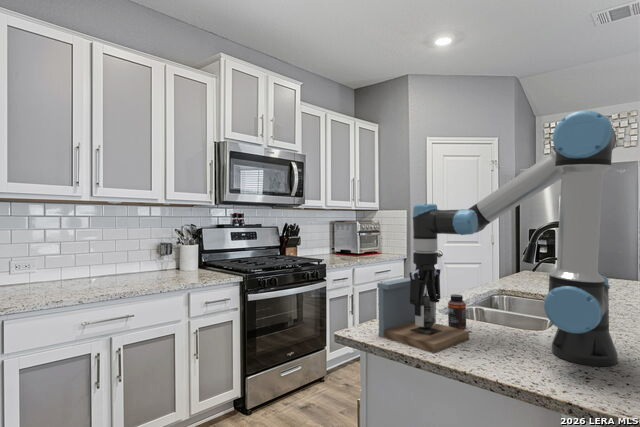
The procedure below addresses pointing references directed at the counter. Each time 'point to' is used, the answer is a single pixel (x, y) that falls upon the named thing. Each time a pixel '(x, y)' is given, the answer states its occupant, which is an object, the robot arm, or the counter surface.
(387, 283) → the grey upright panel
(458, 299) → the supplement bottle
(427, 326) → the dark grey chess piece
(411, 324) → the socket block
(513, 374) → the counter surface
